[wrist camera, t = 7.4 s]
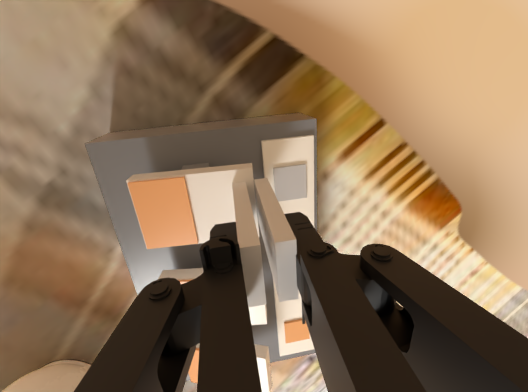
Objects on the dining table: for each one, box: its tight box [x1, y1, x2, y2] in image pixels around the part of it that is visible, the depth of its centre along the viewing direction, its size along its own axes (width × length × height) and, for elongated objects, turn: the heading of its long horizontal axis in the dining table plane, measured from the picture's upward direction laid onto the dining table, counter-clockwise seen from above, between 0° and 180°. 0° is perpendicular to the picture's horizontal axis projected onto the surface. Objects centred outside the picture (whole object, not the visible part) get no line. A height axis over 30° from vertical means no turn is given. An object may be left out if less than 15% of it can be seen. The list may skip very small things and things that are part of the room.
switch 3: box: [188, 343, 272, 392], centre depth 21 cm, size 4×7×1 cm, turn 95°
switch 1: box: [126, 163, 259, 249], centre depth 16 cm, size 4×7×1 cm, turn 95°
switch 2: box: [158, 268, 267, 325], centre depth 18 cm, size 4×7×1 cm, turn 95°
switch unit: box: [85, 113, 317, 381], centre depth 22 cm, size 22×14×5 cm, turn 5°
